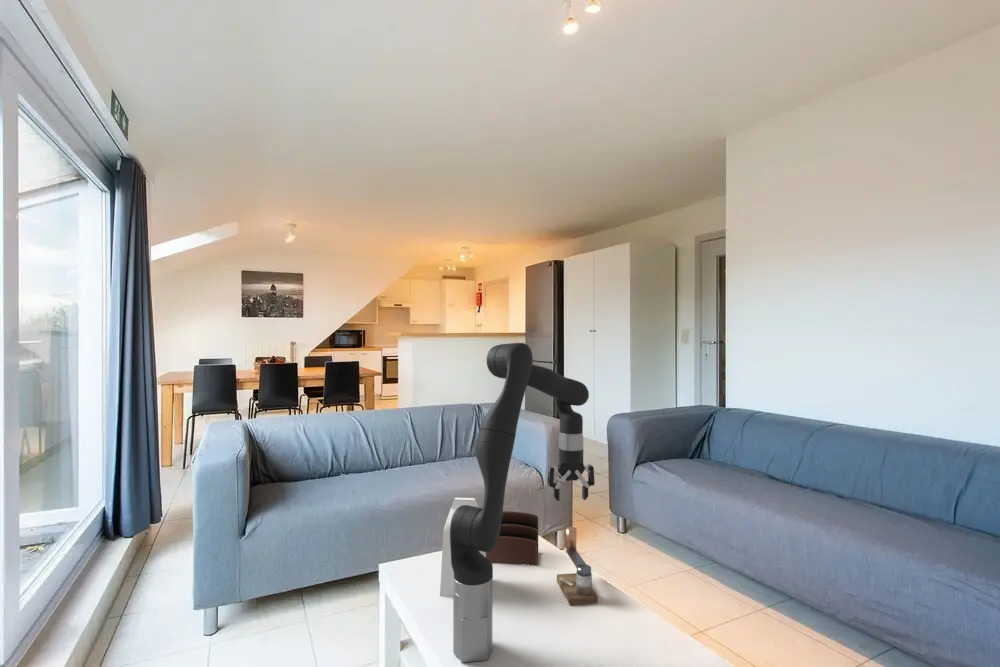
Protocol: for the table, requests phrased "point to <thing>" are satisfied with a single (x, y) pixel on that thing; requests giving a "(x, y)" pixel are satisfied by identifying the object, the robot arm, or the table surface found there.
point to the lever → (575, 553)
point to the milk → (446, 567)
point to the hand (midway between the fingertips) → (570, 499)
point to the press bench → (572, 593)
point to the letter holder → (516, 540)
